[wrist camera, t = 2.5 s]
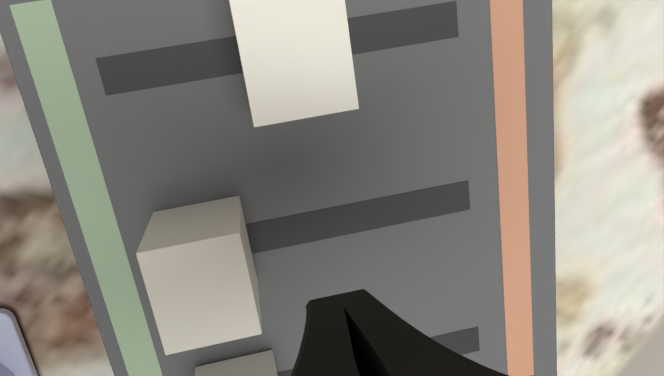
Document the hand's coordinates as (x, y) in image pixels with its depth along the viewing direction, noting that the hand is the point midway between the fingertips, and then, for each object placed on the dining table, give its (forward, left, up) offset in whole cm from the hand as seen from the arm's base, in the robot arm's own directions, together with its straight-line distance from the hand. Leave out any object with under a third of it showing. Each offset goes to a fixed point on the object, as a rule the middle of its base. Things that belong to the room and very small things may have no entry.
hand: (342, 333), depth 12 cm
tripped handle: (0, +6, -8) cm, 10 cm away
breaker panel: (+1, 0, -10) cm, 10 cm away
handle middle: (-4, -1, -8) cm, 9 cm away
